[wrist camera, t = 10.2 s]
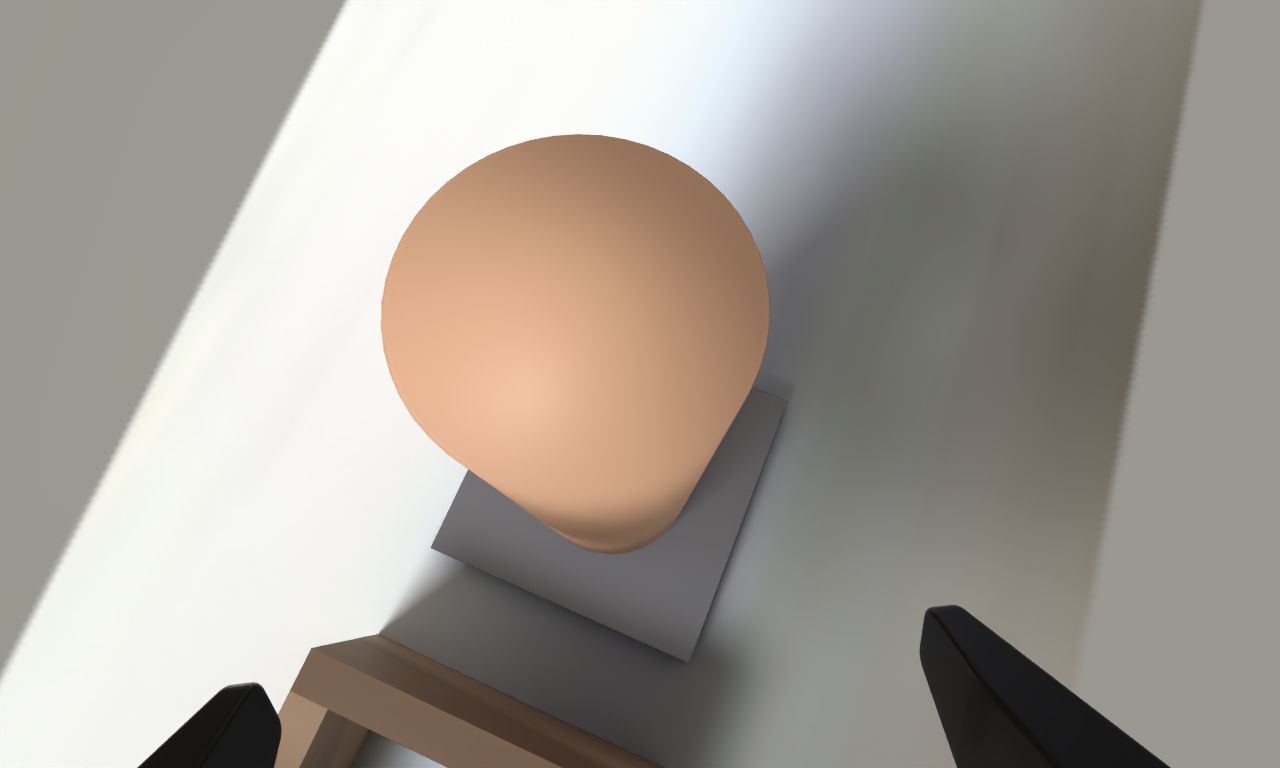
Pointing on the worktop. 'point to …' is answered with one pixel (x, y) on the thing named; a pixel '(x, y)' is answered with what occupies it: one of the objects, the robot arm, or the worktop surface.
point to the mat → (633, 581)
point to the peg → (578, 330)
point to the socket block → (422, 715)
